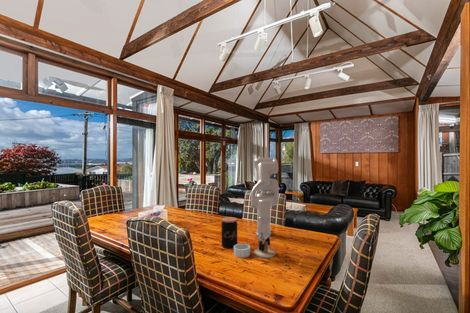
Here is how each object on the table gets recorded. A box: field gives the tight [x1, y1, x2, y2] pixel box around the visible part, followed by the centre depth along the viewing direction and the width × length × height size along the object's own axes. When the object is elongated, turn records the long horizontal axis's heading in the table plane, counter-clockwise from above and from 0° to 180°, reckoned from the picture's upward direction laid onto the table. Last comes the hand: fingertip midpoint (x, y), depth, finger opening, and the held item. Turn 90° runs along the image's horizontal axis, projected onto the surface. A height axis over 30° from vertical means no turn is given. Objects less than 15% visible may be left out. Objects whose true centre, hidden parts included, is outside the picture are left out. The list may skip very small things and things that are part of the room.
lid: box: [253, 240, 276, 259], centre depth 139 cm, size 13×13×7 cm
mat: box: [252, 250, 277, 260], centre depth 139 cm, size 14×10×1 cm
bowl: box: [233, 243, 251, 258], centre depth 138 cm, size 10×10×5 cm
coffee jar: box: [221, 216, 238, 249], centre depth 153 cm, size 11×11×18 cm
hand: (264, 247), depth 139 cm, fingers open, 9 cm apart
